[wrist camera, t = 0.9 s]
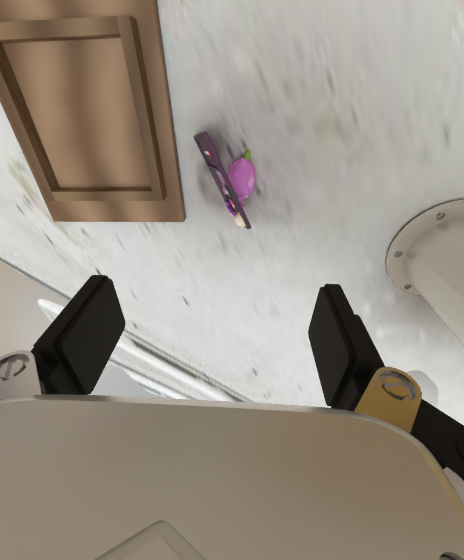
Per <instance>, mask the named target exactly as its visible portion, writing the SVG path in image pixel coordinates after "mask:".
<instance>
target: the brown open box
mask: <svg viewBox="0 0 464 560" xmlns="http://www.w3.org/2000/svg"><path fill="white" fill-rule="evenodd" d="M0 102H1V105H2V107H3V109H4V111H5V113H6V116H7V118H8V120H9V122H10V125H11V127H12V129H13V131H14V134H15V136H16V138H17V140H18V142H19V145H20V147H21V149H22V151H23V154H24V156H25V158H26V160H27V162H28V165H29V167H30V169H31V171H32V174H33V176H34V178H35V180H36V183H37V185H38V187H39V189H40V191H41V194H42V196H43V198H44V200H45V203H46V205H47V207H48V209H49V212H50V214H51V216H52V218H53V220H54V221H62V222H184V221H185V219H186V215H185V208H184V200H183V193H182V185H181V178H180V170H179V163H178V156H177V148H176V141H175V133H174V126H173V118H172V111H171V103H170V96H169V89H168V81H167V74H166V66H165V59H164V51H163V44H162V36H161V29H160V22H159V14H158V7H157V0H0Z"/></svg>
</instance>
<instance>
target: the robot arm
mask: <svg viewBox="0 0 464 560" xmlns="http://www.w3.org/2000/svg"><path fill="white" fill-rule="evenodd" d="M386 269H387V272H388V275H389V277H390V278H391V280H392V281H393V282H394V284H395V285H396V286H397V287H398V288H400V289H401V290H403V291H405V292H407V293H410V294H414V295H419V296H423V297H424V298H425V299H426V301H427V302H428V303H429V304H430V305H431V307H432V308H433V309H434V310H435V311H436V313H437V314H438V315H439V316H440V317H441V319H442V320H443V321H444V322H445V323H446V324H447V326H448V327H449V328H450V329H451V330H452V332H453V333H454V334H455V335H456V336H457V338H458V339H459V340H460V341H461V342H462V344H463V345H464V200H457V201H451V202H448V203H445V204H441V205H438V206H436V207H434V208H432V209H430V210H428V211H425V212H424V213H422V214H421V215H419V216H418V217H416V218H415V219H413V220H412V221H411V222H410V223H409V224H407V225H406V226H405V227H404V228H403V229H402V230H401V232H400V233H399V234H398V235H397V236H396V238H395V239H394V241H393V242H392V244H391V246H390V248H389V251H388V254H387V259H386ZM124 328H125V319H124V316H123V313H122V310H121V307H120V303H119V300H118V297H117V294H116V291H115V288H114V285H113V281H112V280H111V279H109V278H108V277H107V276H106V275H92V276H91V277H90V278H89V279H88V280H87V282H86V283H85V284H84V285H83V286H82V288H81V289H80V290H79V291H78V292H77V294H76V295H75V296H74V297H73V298H72V300H71V301H70V302H69V303H68V305H67V306H66V307H65V308H64V309H63V310H62V312H61V313H60V314H59V315H58V316H57V318H56V319H55V320H54V321H53V322H52V324H51V325H50V326H49V327H48V329H47V330H46V331H45V332H44V333H43V334H42V336H41V337H40V338H39V339H38V340H37V342H36V343H35V344H34V345H33V346H34V348H33V349H32V350H31V352H29V351H25V350H21V351H15V352H12V353H8V354H6V355H4V356H2V357H0V560H464V426H463V425H462V424H460V423H459V422H457V421H456V420H454V419H452V418H451V417H449V416H448V415H446V414H445V413H443V412H442V411H440V410H439V409H437V408H435V407H434V406H432V405H431V404H429V403H428V402H426V401H424V400H423V399H422V392H421V389H420V387H419V386H418V384H417V383H416V381H415V380H414V379H413V378H412V377H411V376H409V375H408V374H406V373H405V372H403V371H401V370H399V369H396V368H392V367H385V365H384V363H383V361H382V359H381V357H380V355H379V353H378V351H377V349H376V347H375V345H374V344H373V342H372V340H371V338H370V336H369V334H368V332H367V330H366V328H365V326H364V324H363V322H362V320H361V318H360V317H359V316H358V315H354V313H353V310H352V308H351V306H350V304H349V302H348V300H347V298H346V296H345V294H344V292H343V290H342V288H341V286H340V285H339V284H325V286H324V287H321V288H320V290H319V293H318V297H317V301H316V304H315V308H314V312H313V315H312V319H311V322H310V326H309V331H308V335H309V340H310V344H311V347H312V351H313V355H314V359H315V363H316V367H317V371H318V374H319V378H320V382H321V386H322V390H323V394H324V398H325V401H326V404H327V406H331V408H325V407H311V406H297V405H282V404H264V403H245V402H227V401H207V400H187V399H166V398H144V397H122V396H99V395H87V394H90V393H91V392H92V391H93V389H94V387H95V385H96V383H97V381H98V379H99V377H100V376H101V373H102V372H103V369H104V368H105V366H106V364H107V362H108V360H109V358H110V356H111V354H112V352H113V350H114V348H115V346H116V344H117V342H118V340H119V338H120V336H121V334H122V332H123V330H124Z"/></svg>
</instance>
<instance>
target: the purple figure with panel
mask: <svg viewBox="0 0 464 560" xmlns="http://www.w3.org/2000/svg"><path fill="white" fill-rule="evenodd" d="M194 139H195V141H196V143H197V145H198V147H199V149H200V151H201V153H202V155H203V157H204V159H205V161H206V163H207V165H208V168H209V169H210V171H211V173H212V175H213V177H214V179H215V181H216V183H217V185H218V187H219V189H220V191H221V193H222V195H223V197H224V199H225V203H226V204H227V207H228V209H229V211H230V212H229V213H230V215H231V216H232V217H234V221H235V224H236V225H237V226H240V227H241V226H245V227H246V228H247V229H250V228H251V225H250V223H249V221H248V219H247V217H246V215H245V212H244V210H243V208H242V206H241V205H243V206H245V204H244V203H243V202H242V200H243V199H245V198H248V196H249V195H250V194H251V193H252V191H253V189H254V187H255V182H256V174H255V169H254V167H253V165H252V164H251V162H250V161H248V160H249V157H250V154H251V153H252V152H251V151H250V150H248V151H247V153H246V154H245V156H244V157H242V158H241V159H238V160H236V161H235V162H234V163H233V164H232V163H231V162H229V166H230V170H229V172H228V174H226V172H225V170H224V168H223V166H222V163H221V161H220V159H219V157H218V155H217V153H216V151H215V149H214V146H213V144H212V142H211V140H210V138H209V136H208V134H207V132H203V133H200V134H197V135H195V136H194ZM214 170H216V171H219V172H220V173H221V175H222V176H221V178H222V180H223V187H222V185H221V183H220V181H219V179H218V177H217V175H216V173H215V171H214ZM231 204H232V205H231ZM232 206H233V208H235V209H236V211H237V213H236V212H235V211H234V210H233V208H232ZM239 212H240V213H239Z"/></svg>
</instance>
